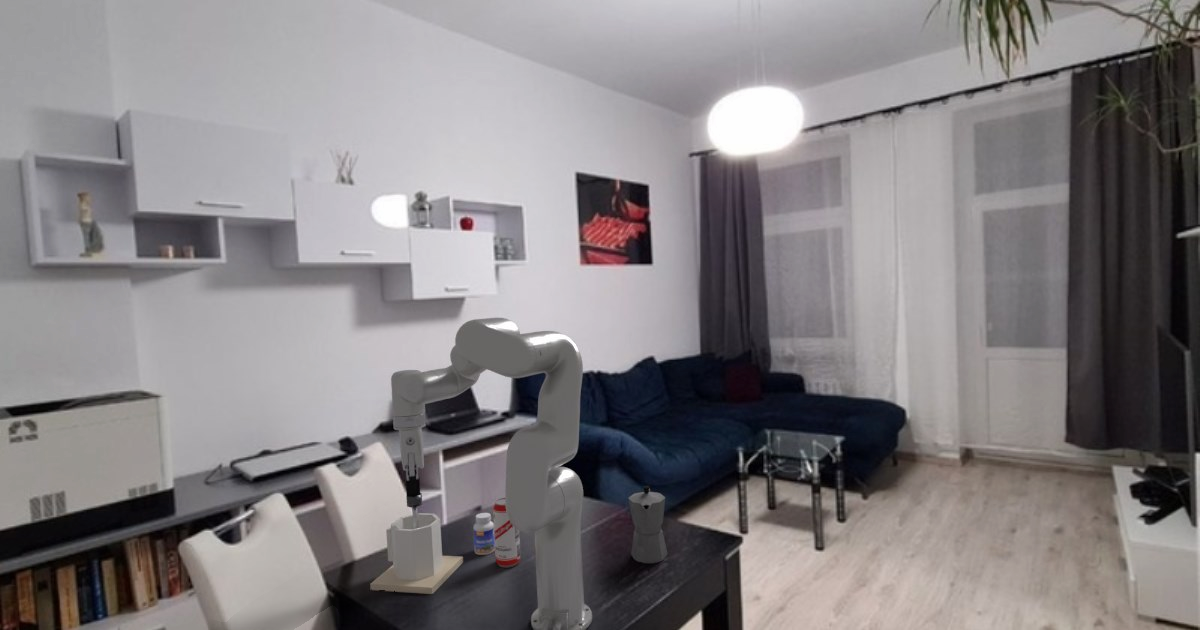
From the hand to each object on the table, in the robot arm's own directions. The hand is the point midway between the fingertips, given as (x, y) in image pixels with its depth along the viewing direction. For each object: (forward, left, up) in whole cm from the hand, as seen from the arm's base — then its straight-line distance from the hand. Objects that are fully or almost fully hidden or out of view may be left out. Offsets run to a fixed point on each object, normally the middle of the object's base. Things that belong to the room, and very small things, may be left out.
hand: (413, 494), depth 143 cm
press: (0, 0, -20) cm, 20 cm away
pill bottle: (+15, -11, -20) cm, 28 cm away
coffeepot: (+18, -55, -20) cm, 62 cm away
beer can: (+9, -20, -20) cm, 30 cm away
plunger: (0, 0, -14) cm, 14 cm away
